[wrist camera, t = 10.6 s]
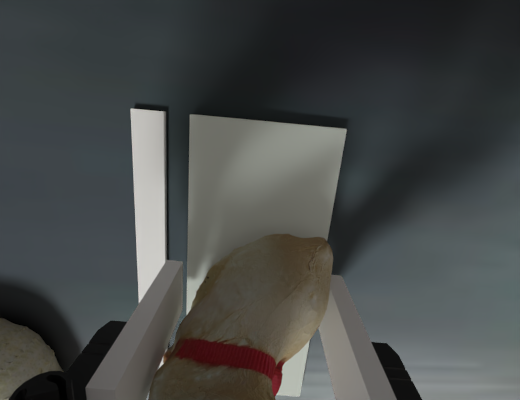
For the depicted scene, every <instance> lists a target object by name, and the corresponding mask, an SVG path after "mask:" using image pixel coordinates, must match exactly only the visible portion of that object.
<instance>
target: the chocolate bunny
mask: <svg viewBox="0 0 520 400" xmlns="http://www.w3.org/2000/svg"><path fill="white" fill-rule="evenodd" d="M332 265H333V253H332V249H331V247H330V245H329V244H328V243H327V241H326V239H325V238H323V237H313V238H300V237H296V236H292V235H290V234H272V235H266V236H264V237H262V238H260V239H258V240H256V241H253V242H251V243H249V244H246V245H245V246H243V247H239V248H237V249H233V251H232V252H231V253H230V254H228V255H226V256H225V257H223V258H221V260H220V261H218V262H217V263H215V264H214V265H213V266H212V267H211V268H210V269H209V271H208V273H207V275H206V277H205V279H204V281H203V282H202V284H201V285H199V288H198V290H197V291H196V296H195V298H194V300H193V301H192V306H191V310H190V311H189V313H188V314H187V316H186V317H185V318H184V320H183V321H182V322H181V324H180V325H179V328H178V330H177V333H176V337H175V342H174V344H173V345H172V346H171V347H170V348H169V349H167V351H166V352H165V354H164V356H163V363H164V364H163V365H162V366H161V367H160V368H159V369H158V370H157V371H156V373H155V375H154V378H153V381H152V384H151V387H150V393H149V399H148V400H275V396H276V394H277V393H278V391H279V388H280V386H281V382H282V375H283V374H282V367H283V365H284V363H285V362H287V361H288V360H289V359H291V358H292V357H293V356H294V355H295V354H296V353H298V352H299V351H300V350H301V349H302V348H303V347H304V346H305V345H306V344H307V343H308V341H309V340H310V339H311V338H312V336H313V335H314V333H315V332H316V330H317V329H318V327H319V326H320V324H321V322H322V320H323V318H324V315H325V313H326V310H327V306H328V300H329V291H330V281H331V273H332Z"/></svg>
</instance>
